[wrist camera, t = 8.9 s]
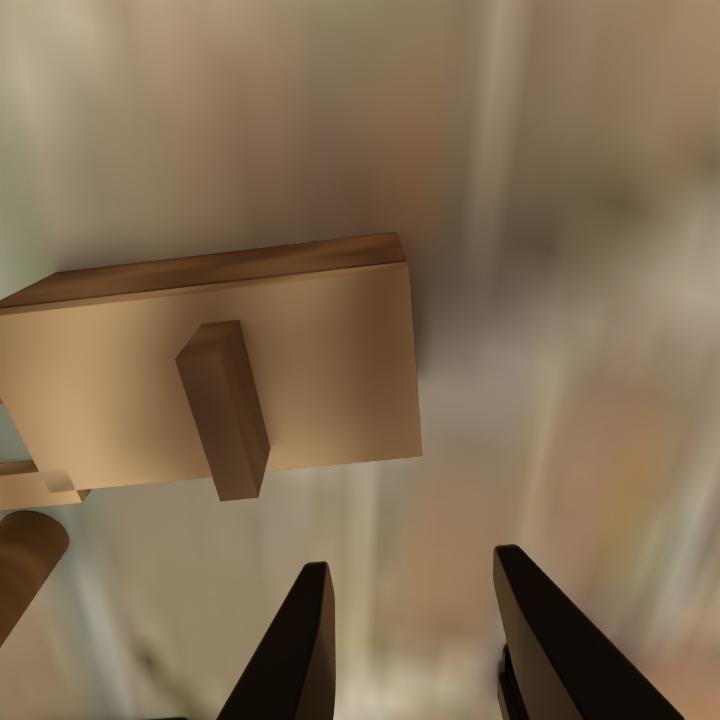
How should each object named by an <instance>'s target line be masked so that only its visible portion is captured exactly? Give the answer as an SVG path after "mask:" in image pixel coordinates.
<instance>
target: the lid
mask: <svg viewBox="0 0 720 720" xmlns="http://www.w3.org/2000/svg"><path fill="white" fill-rule="evenodd" d="M0 398H1V400H2V402H3V404H4V405H5V407H6V409H7V411H8V413H9V415H10V417H11V419H12V421H13V423H14V424H15V426H16V428H17V430H18V432H19V434H20V436H21V438H22V440H23V442H24V444H25V445H26V447H27V449H28V451H29V453H30V455H31V457H32V459H33V460H30V461H20V462H10V463H0V510H10V509H20V508H30V507H40V506H51V505H61V504H71V503H81V502H83V501H84V499H85V498H86V496H87V495H88V494H89V492H90V491H91V489H95V488H105V487H115V486H125V485H135V484H145V483H155V482H166V481H176V480H186V479H196V478H206V477H213V480H214V483H215V486H216V489H217V492H218V495H219V499H220V501H229V500H239V499H249V498H258V496H259V492H260V488H261V484H262V481H263V477H264V473H265V472H267V471H277V470H287V469H297V468H307V467H317V466H328V465H338V464H348V463H358V462H368V461H378V460H388V459H399V458H409V457H419V456H422V444H421V430H420V415H419V401H418V387H417V372H416V358H415V343H414V329H413V315H412V300H411V286H410V271H409V267H408V264H407V262H401V263H392V264H383V265H375V266H366V267H357V268H349V269H340V270H331V271H323V272H314V273H305V274H297V275H288V276H279V277H271V278H262V279H253V280H245V281H236V282H227V283H219V284H210V285H201V286H193V287H184V288H175V289H167V290H158V291H149V292H141V293H132V294H123V295H115V296H106V297H97V298H89V299H80V300H71V301H63V302H54V303H45V304H37V305H28V306H19V307H11V308H2V309H0Z"/></svg>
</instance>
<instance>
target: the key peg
mask: <svg viewBox="0 0 720 720" xmlns="http://www.w3.org/2000/svg"><path fill="white" fill-rule="evenodd" d="M68 544H69V539H68V535H67V533H66V531H65V530H64V529H63V527H62V526H61V525H60V524H59V523H57V522H56V521H55V520H53V519H52V518H50V517H48V516H46V515H43V514H40V513H37V512H31V511H18V512H14V513H11V514H9V515H7V516H6V517H4V518H3V519H2V521H1V522H0V647H1V646H2V644H3V643H4V641H5V640H6V638H7V637H8V635H9V634H10V632H11V631H12V629H13V628H14V627H15V625H16V624H17V622H18V621H19V619H20V618H21V616H22V615H23V613H24V612H25V610H26V609H27V607H28V606H29V604H30V603H31V601H32V600H33V598H34V597H35V595H36V594H37V592H38V591H39V590H40V588H41V587H42V585H43V584H44V582H45V581H46V579H47V578H48V576H49V575H50V573H51V572H52V570H53V569H54V567H55V566H56V564H57V563H58V561H59V560H60V558H61V557H62V555H63V554H64V552H65V551H66V549H67V548H68Z"/></svg>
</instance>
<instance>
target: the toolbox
mask: <svg viewBox="0 0 720 720" xmlns="http://www.w3.org/2000/svg"><path fill="white" fill-rule="evenodd" d="M401 262H406V259H405V256H404V254H403V251H402V248H401V246H400V243H399V240H398V238H397V235H396V233H388V234H379V235H371V236H362V237H354V238H345V239H337V240H328V241H320V242H311V243H303V244H294V245H286V246H277V247H269V248H260V249H252V250H244V251H235V252H227V253H218V254H210V255H201V256H193V257H184V258H176V259H167V260H159V261H150V262H142V263H133V264H125V265H116V266H108V267H99V268H91V269H83V270H74V271H66V272H57V273H54V274H52V275H50V276H48V277H46V278H44V279H42V280H40V281H38V282H36V283H34V284H32V285H30V286H28V287H26V288H24V289H22V290H20V291H18V292H16V293H14V294H12V295H10V296H8V297H6V298H4V299H2V300H0V309H2V308H11V307H19V306H28V305H37V304H45V303H54V302H63V301H71V300H80V299H89V298H97V297H106V296H115V295H123V294H132V293H141V292H149V291H158V290H167V289H175V288H184V287H193V286H201V285H210V284H219V283H227V282H236V281H245V280H253V279H262V278H271V277H279V276H288V275H297V274H305V273H314V272H323V271H331V270H340V269H349V268H357V267H366V266H375V265H383V264H392V263H401ZM0 403H3V402H2V400H1V398H0Z"/></svg>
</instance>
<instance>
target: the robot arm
mask: <svg viewBox="0 0 720 720" xmlns="http://www.w3.org/2000/svg"><path fill="white" fill-rule="evenodd" d="M493 580H494V587H495V592H496V596H497V600H498V605H499V609H500V613H501V618H502V622H503V626H504V630H505V635H506V639H507V643H508V646H507V647H505V648H504V650H503V672H500V674H499V675H498V701H499V705H500V709H501V713H502V717H503V720H685V719H684V717H683V716H682V715H681V714H680V713H679V712H678V711H677V710H676V709H675V708H674V706H673V705H672V704H671V703H670V702H669V701H668V700H667V699H666V698H665V697H664V696H663V695H662V694H661V693H660V692H659V691H658V690H657V689H656V688H655V687H654V686H653V685H652V684H651V683H650V682H649V681H648V680H647V679H646V678H645V676H644V675H643V674H642V673H641V672H640V671H639V670H638V669H637V668H636V667H635V666H634V665H633V664H632V663H631V662H630V661H629V660H628V659H627V658H626V657H625V656H624V655H623V654H622V653H621V652H620V651H619V650H618V649H617V647H616V646H615V645H614V644H613V643H612V642H611V641H610V640H609V639H608V638H607V637H606V636H605V635H604V634H603V633H602V632H601V631H600V630H599V629H598V628H597V627H596V626H595V625H594V624H593V623H592V622H591V621H590V620H589V618H588V617H587V616H586V615H585V614H584V613H583V612H582V611H581V610H580V609H579V608H578V607H577V606H576V605H575V604H574V603H573V602H572V601H571V600H570V599H569V598H568V597H567V596H566V595H565V594H564V593H563V592H562V591H561V589H560V588H559V587H558V586H557V585H556V584H555V583H554V582H553V581H552V580H551V579H550V578H549V577H548V576H547V575H546V574H545V573H544V572H543V571H542V570H541V569H540V568H539V567H538V566H537V565H536V564H535V563H534V562H533V561H532V559H531V558H530V557H529V556H528V555H527V554H526V553H525V552H524V551H523V550H522V549H521V548H520V547H519V546H517V545H515V544H510V545H499V546H496V547H495V548H494V556H493ZM335 687H336V660H335V597H334V589H333V584H332V579H331V574H330V569H329V565H328V563H327V562H325V561H320V562H309V563H307V564H305V566H304V567H303V569H302V570H301V572H300V574H299V576H298V577H297V579H296V581H295V583H294V584H293V586H292V588H291V590H290V591H289V593H288V595H287V597H286V598H285V600H284V602H283V604H282V605H281V607H280V609H279V611H278V612H277V614H276V616H275V617H274V619H273V621H272V623H271V624H270V626H269V628H268V630H267V631H266V633H265V635H264V637H263V638H262V640H261V642H260V644H259V645H258V647H257V649H256V651H255V652H254V654H253V656H252V658H251V659H250V661H249V663H248V665H247V666H246V668H245V670H244V672H243V673H242V675H241V677H240V679H239V680H238V682H237V684H236V686H235V687H234V689H233V691H232V693H231V694H230V696H229V698H228V700H227V701H226V703H225V705H224V707H223V708H222V710H221V712H220V714H219V715H218V717H217V719H216V720H333V716H334V704H335Z"/></svg>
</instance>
